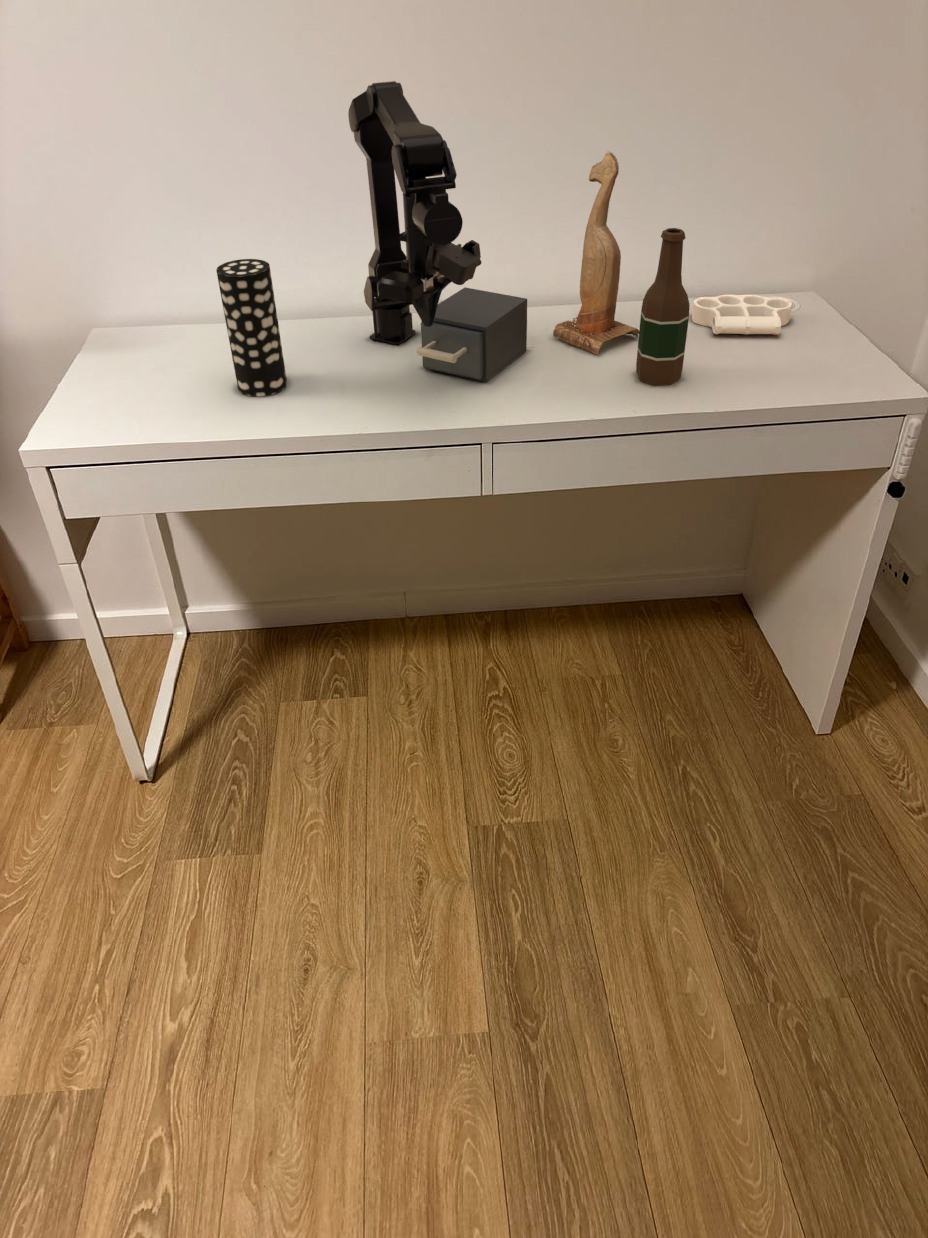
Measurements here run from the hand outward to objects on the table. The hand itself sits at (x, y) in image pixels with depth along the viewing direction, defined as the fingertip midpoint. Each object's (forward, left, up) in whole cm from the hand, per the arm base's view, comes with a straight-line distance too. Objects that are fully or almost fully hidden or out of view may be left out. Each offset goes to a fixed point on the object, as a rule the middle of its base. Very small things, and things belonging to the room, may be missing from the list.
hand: (428, 325), depth 155 cm
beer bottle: (+32, +22, -11) cm, 40 cm away
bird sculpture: (+16, +32, -11) cm, 37 cm away
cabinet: (+1, +14, -11) cm, 18 cm away
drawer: (+1, +10, -10) cm, 14 cm away
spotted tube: (-26, -12, -11) cm, 31 cm away
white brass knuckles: (+37, +51, -11) cm, 64 cm away
